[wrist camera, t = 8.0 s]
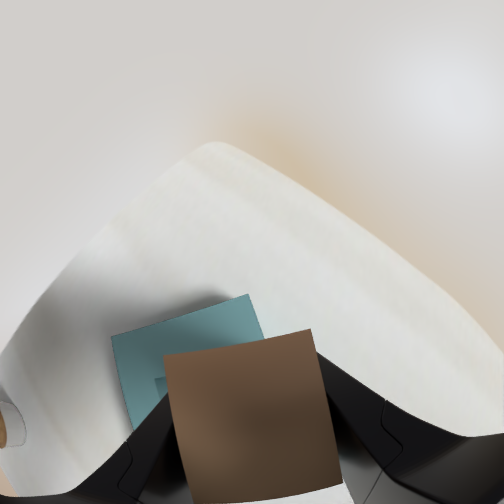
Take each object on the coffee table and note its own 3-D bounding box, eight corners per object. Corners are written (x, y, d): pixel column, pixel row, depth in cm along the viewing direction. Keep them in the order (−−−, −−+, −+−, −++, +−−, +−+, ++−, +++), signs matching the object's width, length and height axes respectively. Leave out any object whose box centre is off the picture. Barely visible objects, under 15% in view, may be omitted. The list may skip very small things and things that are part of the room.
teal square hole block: (308, 456, 17) (315, 471, 13) (179, 485, 16) (162, 500, 12) (252, 307, 23) (248, 293, 19) (134, 344, 22) (111, 336, 18)
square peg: (303, 421, 13) (343, 483, 4) (242, 432, 13) (193, 503, 4) (289, 358, 15) (310, 328, 6) (230, 369, 15) (163, 355, 6)
